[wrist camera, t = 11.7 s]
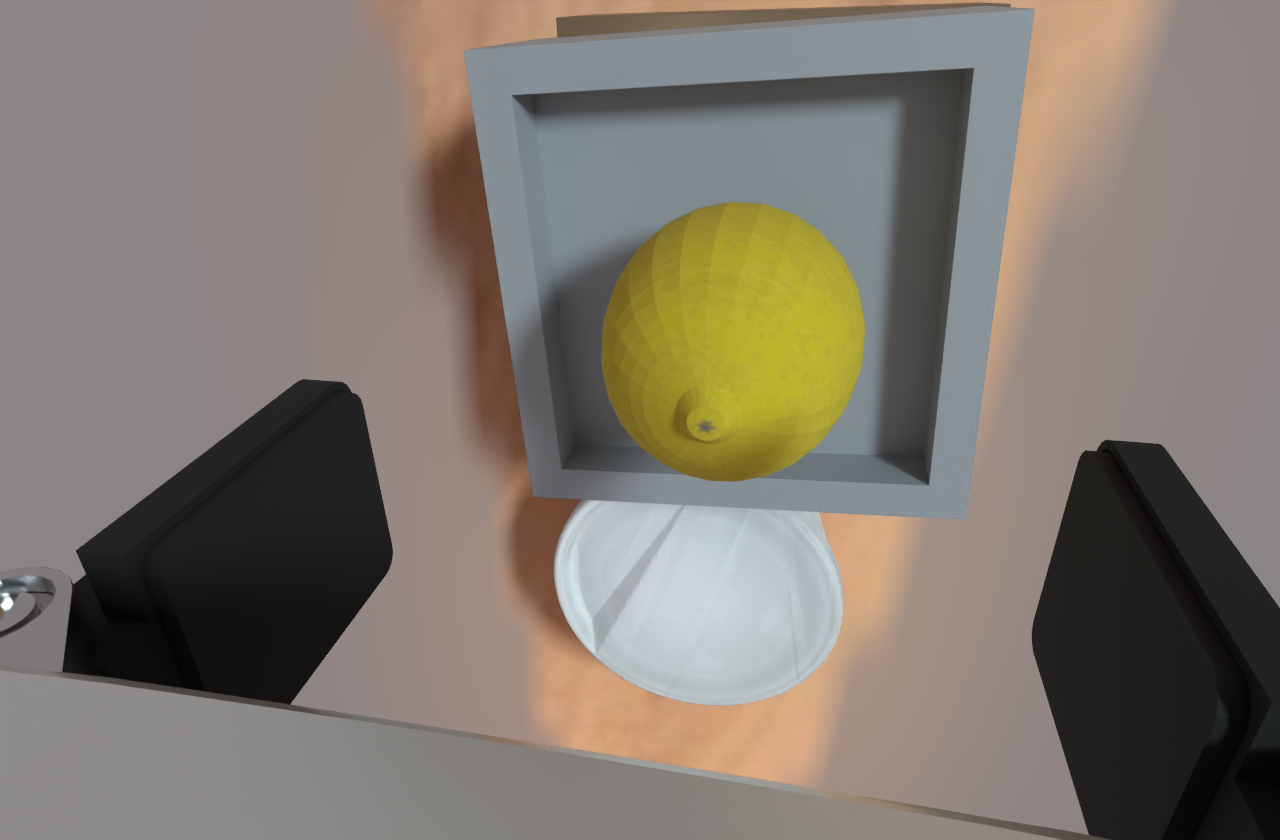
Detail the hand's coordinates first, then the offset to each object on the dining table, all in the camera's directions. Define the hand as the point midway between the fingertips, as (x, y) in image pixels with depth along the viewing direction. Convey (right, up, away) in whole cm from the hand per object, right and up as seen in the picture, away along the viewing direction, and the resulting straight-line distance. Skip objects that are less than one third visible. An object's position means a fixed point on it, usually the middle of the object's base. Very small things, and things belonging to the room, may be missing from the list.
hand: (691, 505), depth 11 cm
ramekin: (+2, -3, +25) cm, 25 cm away
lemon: (+2, +5, +10) cm, 12 cm away
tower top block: (+3, +6, +14) cm, 16 cm away
